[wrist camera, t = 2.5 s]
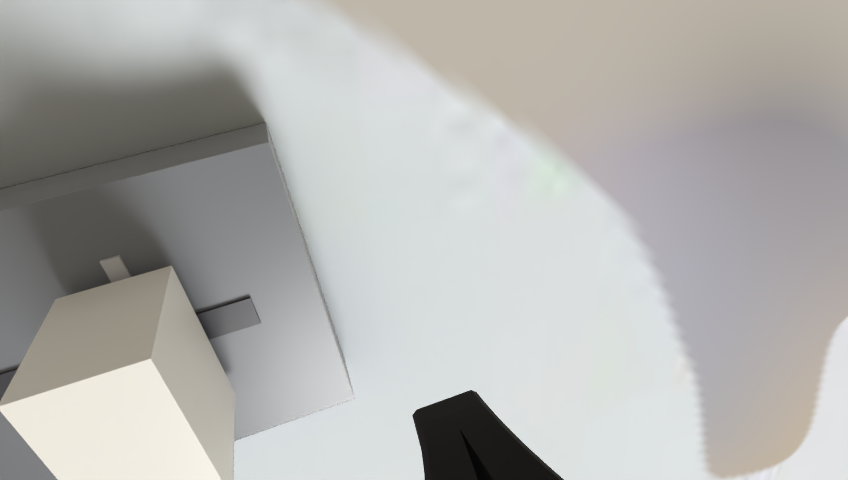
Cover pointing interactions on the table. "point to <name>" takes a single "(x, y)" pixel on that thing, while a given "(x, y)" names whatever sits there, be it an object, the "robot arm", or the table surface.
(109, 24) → the table surface
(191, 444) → the fader tab
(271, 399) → the console
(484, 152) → the table surface
